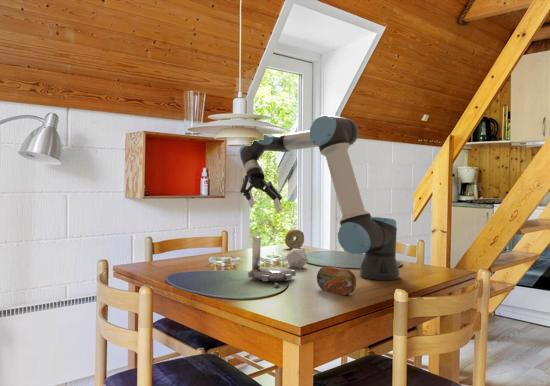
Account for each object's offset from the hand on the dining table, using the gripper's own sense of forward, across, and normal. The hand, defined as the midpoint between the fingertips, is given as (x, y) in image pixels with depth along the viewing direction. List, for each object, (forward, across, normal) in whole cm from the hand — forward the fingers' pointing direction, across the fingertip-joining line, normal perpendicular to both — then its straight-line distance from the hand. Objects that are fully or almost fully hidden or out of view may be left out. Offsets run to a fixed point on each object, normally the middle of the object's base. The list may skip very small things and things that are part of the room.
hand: (266, 208), depth 201 cm
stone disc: (-12, -44, -35) cm, 58 cm away
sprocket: (+32, +5, -3) cm, 33 cm away
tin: (+50, -3, +16) cm, 53 cm away
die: (+20, -16, -11) cm, 28 cm away
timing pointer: (+41, +10, +2) cm, 42 cm away
